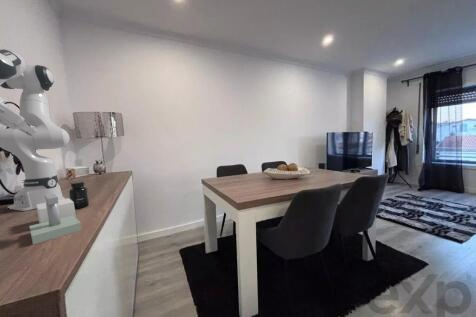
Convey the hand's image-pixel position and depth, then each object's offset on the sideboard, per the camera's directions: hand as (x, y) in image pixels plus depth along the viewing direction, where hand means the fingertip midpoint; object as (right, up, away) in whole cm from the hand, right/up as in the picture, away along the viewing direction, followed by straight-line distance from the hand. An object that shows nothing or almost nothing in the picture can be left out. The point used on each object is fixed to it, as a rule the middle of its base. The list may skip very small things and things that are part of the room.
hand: (33, 134), depth 76 cm
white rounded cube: (+5, -34, +4) cm, 35 cm away
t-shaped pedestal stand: (+14, -35, -6) cm, 38 cm away
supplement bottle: (+2, -33, +20) cm, 38 cm away
